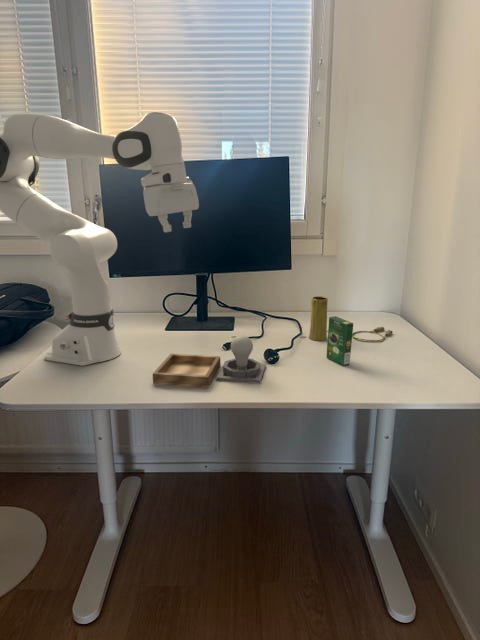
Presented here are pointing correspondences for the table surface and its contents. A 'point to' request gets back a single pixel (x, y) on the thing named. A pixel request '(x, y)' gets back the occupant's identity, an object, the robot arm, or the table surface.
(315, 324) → the vase
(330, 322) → the coffee box
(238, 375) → the socket
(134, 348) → the table surface
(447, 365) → the table surface
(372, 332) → the extension cord
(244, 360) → the lightbulb
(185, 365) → the tray
